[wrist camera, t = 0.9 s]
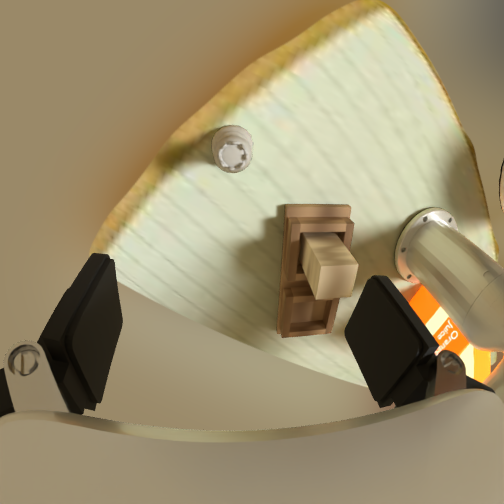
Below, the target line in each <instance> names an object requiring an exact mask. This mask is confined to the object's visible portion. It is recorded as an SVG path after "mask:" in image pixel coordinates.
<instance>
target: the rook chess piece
mask: <svg viewBox="0 0 504 504" xmlns="http://www.w3.org/2000/svg"><path fill="white" fill-rule="evenodd" d="M211 149H212V152H213V157H214V160H215V163H216V165H217V166H218V167H219V168H220V169H221V170H223V171H225V172H228V173H237V172H240V171H243V170H244V169H245V168H246V167H248V165H249V164H250V162H251V160H252V153H253V140H252V137H251V135H250V134H249V132H248V131H247V130H246V129H244V128H242V127H240V126H238V125H228V126H225V127H222V128H221V129H220V130H218V131H217V132H216V133H215V135H214V137H213V139H212V145H211Z"/></svg>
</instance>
